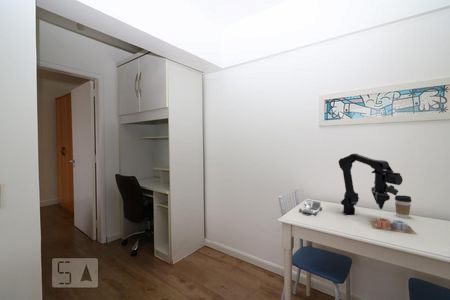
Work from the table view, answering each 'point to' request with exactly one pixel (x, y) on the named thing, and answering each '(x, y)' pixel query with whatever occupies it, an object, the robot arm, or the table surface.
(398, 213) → the coffee cup
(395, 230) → the gear board
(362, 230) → the table surface
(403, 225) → the gear
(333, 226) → the table surface
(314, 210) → the phone holder
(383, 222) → the gear
